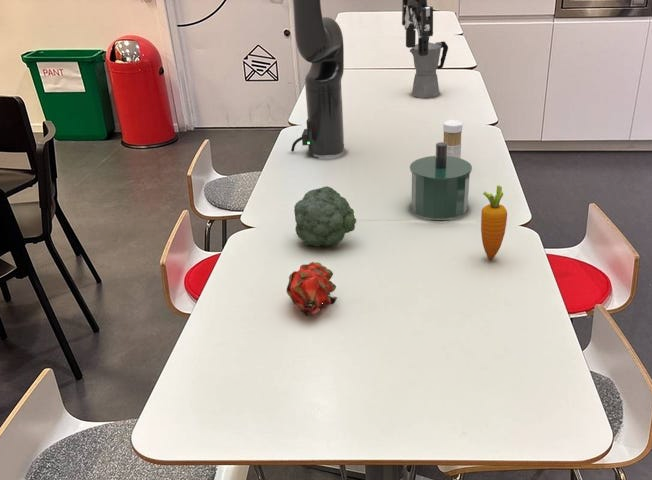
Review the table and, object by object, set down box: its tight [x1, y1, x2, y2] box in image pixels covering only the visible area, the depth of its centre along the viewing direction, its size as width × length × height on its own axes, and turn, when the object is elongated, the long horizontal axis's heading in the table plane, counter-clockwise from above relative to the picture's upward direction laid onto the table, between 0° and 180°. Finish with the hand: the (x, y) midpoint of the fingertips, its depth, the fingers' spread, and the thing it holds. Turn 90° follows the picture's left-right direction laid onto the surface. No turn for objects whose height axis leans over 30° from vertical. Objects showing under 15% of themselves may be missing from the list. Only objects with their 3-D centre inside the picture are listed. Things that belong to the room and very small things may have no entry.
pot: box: [411, 172, 471, 222], centre depth 157 cm, size 13×13×10 cm
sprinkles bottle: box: [442, 119, 463, 159], centre depth 172 cm, size 5×5×14 cm
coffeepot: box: [409, 37, 449, 99], centre depth 230 cm, size 15×9×18 cm, turn 125°
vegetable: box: [293, 185, 357, 248], centre depth 146 cm, size 12×13×15 cm
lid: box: [409, 141, 473, 180], centre depth 153 cm, size 14×14×6 cm
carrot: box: [480, 185, 508, 261], centre depth 136 cm, size 5×5×15 cm
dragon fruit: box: [286, 261, 338, 317], centre depth 125 cm, size 8×8×12 cm
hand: (416, 51), depth 165 cm, fingers open, 8 cm apart
